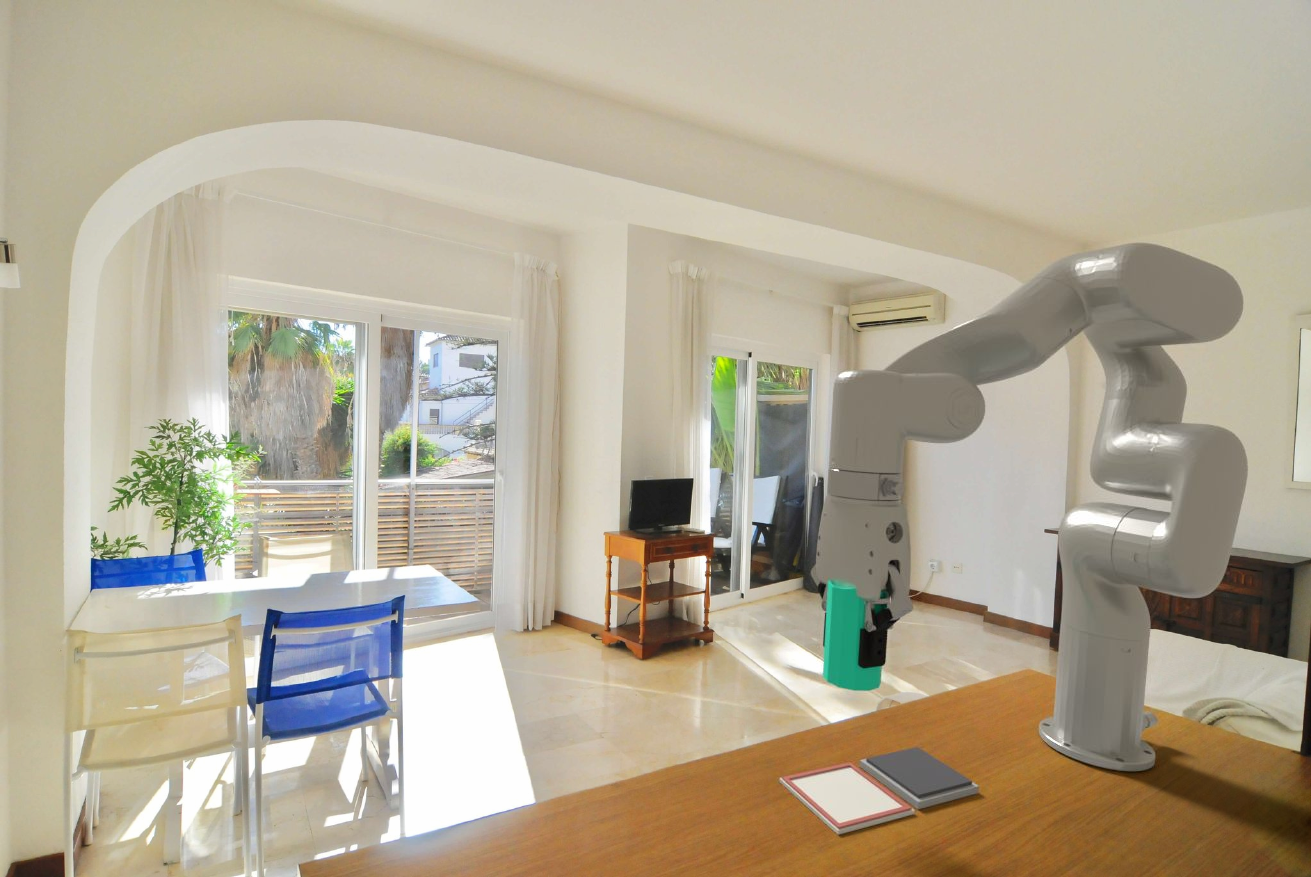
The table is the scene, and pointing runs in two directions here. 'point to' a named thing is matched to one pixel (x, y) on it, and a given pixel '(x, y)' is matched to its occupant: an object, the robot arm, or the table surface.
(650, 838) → the table surface
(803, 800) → the marked card
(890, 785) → the ink pad
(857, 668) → the candle
